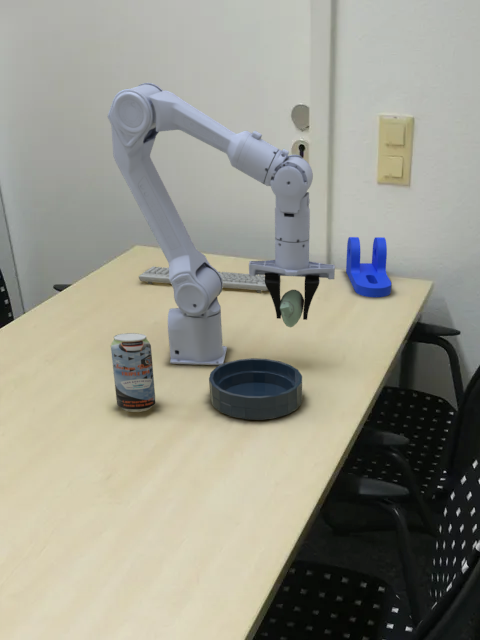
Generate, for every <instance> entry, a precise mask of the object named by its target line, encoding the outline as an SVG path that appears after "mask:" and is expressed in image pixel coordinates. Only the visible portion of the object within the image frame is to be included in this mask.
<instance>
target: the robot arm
mask: <svg viewBox="0 0 480 640" xmlns="http://www.w3.org/2000/svg"><path fill="white" fill-rule="evenodd" d="M107 119H108V122H109V123H110V126H111V141H112V155H113V159H114V161H115V164H116V166H117V167H118V169H119V171H120V173H121V175H122V178H123V179H124V181H125V183H126V185H127V186H128V188H129V190H130V192H131V194H132V196H133V198H134V200H135V202H136V203H137V205H138V208H139V209H140V211H141V214H142V215H143V217H144V219H145V221H146V223H147V225H148V226H149V228H150V231H151V232H152V235H153V236H154V238H155V240H156V242H157V244H158V245H159V247H160V249H161V251H162V254H163V256H164V257H165V260H166V261H167V263H168V268H169V280H170V282H171V283H170V284H171V286H172V289H173V300H174V302H175V304H176V306H177V307H172V308H171V307H170V308H169V309H168V314H167V335H168V344H169V345H168V347H169V355H170V356H169V357H170V359H169V360H170V361H169V363H170V364H171V365H176V364H177V365H197V366H220V365H222V364H224V363H225V359H226V355H227V351H228V347H227V346H226V345H223V328H222V311H221V310H222V307H221V304H220V302H219V300H218V297H219V295H221V293H222V291H223V288H224V287H223V281H222V277H221V275H220V274H219V272H220V271H218V270H217V269H216V268H215V267H213V266H212V265H211V263H210V262H209V261H208V259H207V257H206V255H205V254H204V253H203V252H202V251H200V250H198V249H197V247H196V245H195V244H194V242H193V240H192V238H191V236H190V234H189V232H188V230H187V228H186V226H185V223H184V221H183V220H182V218H181V216H180V214H179V212H178V210H177V208H176V206H175V204H174V202H173V200H172V198H171V196H170V193H169V192H168V190H167V188H166V186H165V184H164V182H163V180H162V178H161V176H160V174H159V172H158V170H157V168H156V166H155V164H154V162H153V160H152V158H151V153H152V151H153V148H154V144H155V140H156V138H157V136H158V134H159V133H160V132H169V131H178V130H179V131H180V132H183V133H185V134H187V135H189V136H191V137H192V138H195V139H196V140H198V141H200V142H202V143H205V144H207V145H209V146H210V147H212V148H214V149H216V150H218V151H220V152H222V153H224V154H226V156H227V158H228V160H229V163H230V165H231V166H232V168H235V169H236V170H237V171H239V172H241V173H243V174H245V175H247V176H249V177H250V178H252V179H254V180H255V181H257V182H259V183H261V184H262V185H264V186H266V187H270V188H271V191H272V193H273V195H274V197H275V207H274V259H270V260H269V259H265V260H249V263H248V274H249V276H255V275H258V276H259V275H264V276H265V285H266V287H267V289H268V293H269V295H270V297H271V300H272V304H273V307H274V310H275V315H276V319H280V320H281V319H282V316H281V310H280V302H281V277H298V278H299V277H301V278H304V307H303V312H302V320H305V321H307V320H308V315H309V310H310V306H311V303H312V301H313V298H314V296H315V295H316V292H317V290H318V288H319V285H320V279H321V278H322V279H323V278H324V279H328V280H335V277H336V276H335V275H336V274H335V271H336V270H335V268H336V266H335V264H330V263H321V262H316V261H310V231H311V229H310V225H311V223H310V221H311V218H310V217H311V209H310V201H311V200H310V192H309V191H308V190H309V189H310V188H311V185H312V183H313V177H314V174H313V169H312V166H311V165H310V164H309V162H308V161H307V160H306V159H305V158H303V157H302V155H300V154H289V153H290V151H289V150H288V149H286V148H282V149H280V148H278V147H277V146H275V145H273V144H271V143H269V142H268V141H266V140H264V139H262V136H263V134H262V132H261V133H260V132H259V131H257V130H253V131H252V132H250V131H249V130H243V131H241V132H238V133H237V132H234V131H233V130H231V129H229V128H227V127H226V126H225V125H223V124H222V123H220V122H219V121H217V120H216V119H214V118H213V117H211V116H209V115H208V114H206V113H204V112H203V111H201V110H200V109H198V108H196V107H195V106H193V105H192V104H190V103H189V102H187V101H186V100H184V99H183V98H182V97H179V96H178V95H177V94H175V93H174V92H173V91H169V90H167V89H162V88H161V87H160V86H159V85H157V84H155V83H152V82H143V83H140V84H138V85H137V86H135V87H132V88H125V89H122V90H120V91H118V92H117V93H116V94H115V96H114V97H113V99H112V101H111V105H110V108H109V111H108V114H107Z"/></svg>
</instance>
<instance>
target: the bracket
mask: <svg viewBox="0 0 480 640" xmlns="http://www.w3.org/2000/svg"><path fill="white" fill-rule="evenodd" d="M371 251H372V254H371V262H370V263H368V262H362V263H361V240H360V238H359V237H358V236H349V237H348V238H347V243H346V263H345V268H346V269H345V273H346V275H347V276H348V280H349V281H350V283H351V286H352V288H353V290H354V292H355V293H356V294H357V295H359V296H362V297H366V298H386V297H388V296H390V294H392V281H391V280H390V277H389V276H388V275H387V255H388V247H387V240H386V238H385V237H384V236H383V237H374V238H373V242H372V250H371Z"/></svg>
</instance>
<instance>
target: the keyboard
mask: <svg viewBox="0 0 480 640" xmlns="http://www.w3.org/2000/svg"><path fill="white" fill-rule="evenodd" d="M218 272H219V274H220V275H221V277H222V281H223V288H225V289H237V290H239V289H240V290H251V291H256V293H260V294H261V293H262V292H267V291H268V289H267V287H266V285H265V275H255V276H249V273H241V272H229V271H218ZM138 279H139V281H140V282H147V285H153V284H154V283H159V284H160V283H162V284H171V282H170V280H169V267H163V266H154V265H153V266H151V267H149V268H148V269H146V270H145V271H143V272H142V273H141V274H139V275H138ZM268 292H269V291H268Z"/></svg>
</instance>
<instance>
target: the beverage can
mask: <svg viewBox="0 0 480 640" xmlns="http://www.w3.org/2000/svg"><path fill="white" fill-rule="evenodd" d="M110 351H111V353H110V354H111V362H112V373H113V380H114V390H115V399H116V405H117V406H118V407H119V408H121V409H122V410H123V411H125V412H130V413H140V412H146V411H149V410H150V409H151V408H152V407H153V406H155V404H156V402H157V401H156V391H155V378H154V367H153V353H152V345H151V342H150V341H149V340H148V339H147V335H145V334H143V333H138V332H127V333H119V334H118V333H117V334H115V335H114V336H113V340H112V342H111V345H110Z"/></svg>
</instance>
